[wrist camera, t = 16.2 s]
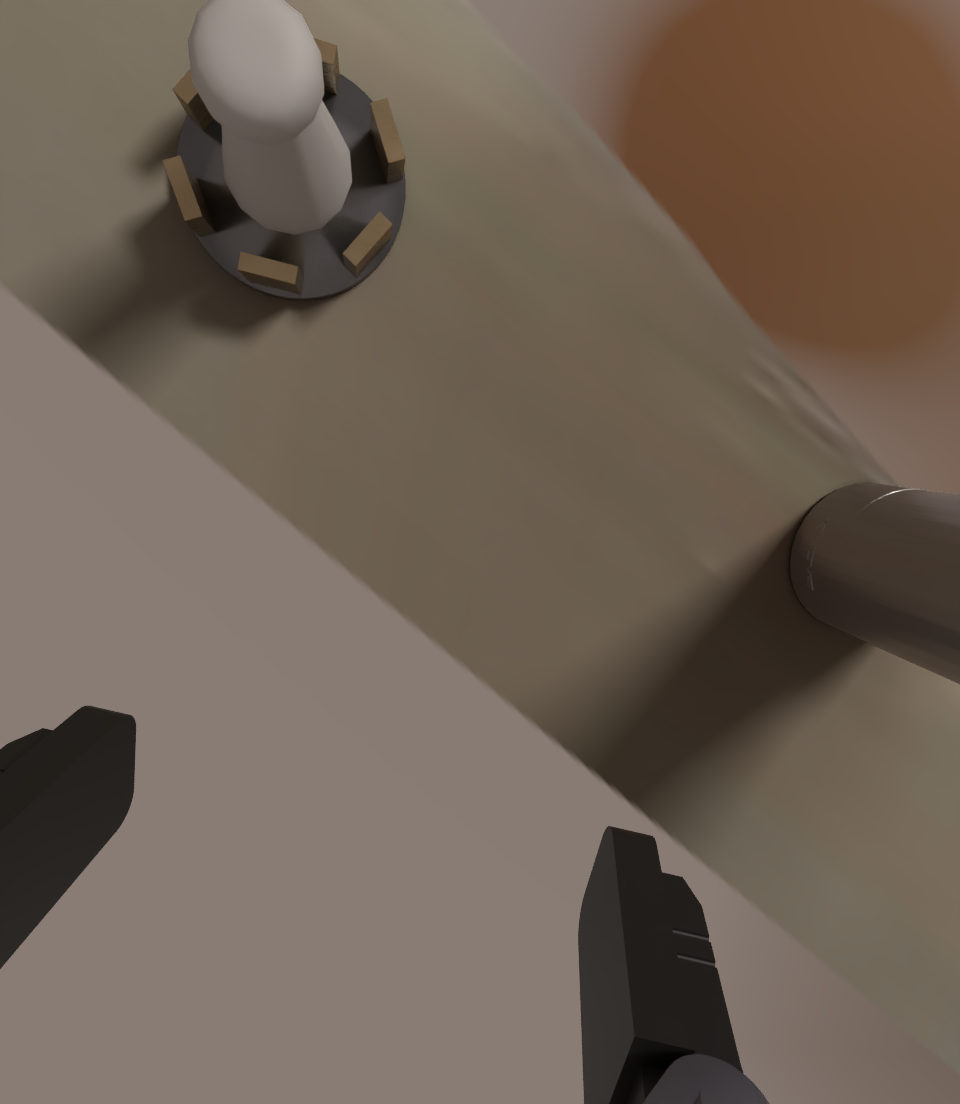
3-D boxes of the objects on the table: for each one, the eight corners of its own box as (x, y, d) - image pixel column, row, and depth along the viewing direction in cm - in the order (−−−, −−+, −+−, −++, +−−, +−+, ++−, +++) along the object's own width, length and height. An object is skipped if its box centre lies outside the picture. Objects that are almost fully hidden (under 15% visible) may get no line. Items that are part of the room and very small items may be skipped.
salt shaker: (291, 270, 36) (247, 189, 23) (206, 173, 34) (112, 31, 22) (377, 192, 36) (381, 68, 23) (296, 92, 34) (253, -98, 22)
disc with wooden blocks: (448, 186, 37) (457, 161, 33) (308, 345, 37) (301, 337, 34) (281, 12, 34) (270, -37, 31) (132, 185, 35) (103, 157, 31)
